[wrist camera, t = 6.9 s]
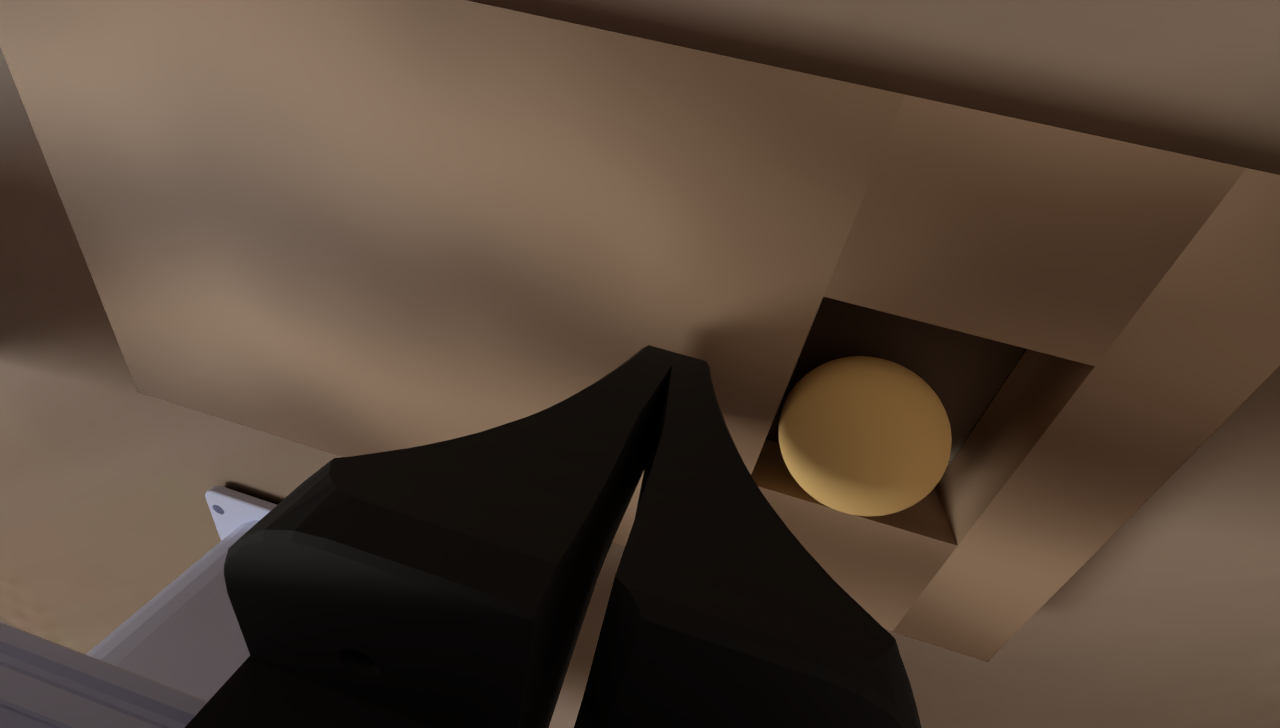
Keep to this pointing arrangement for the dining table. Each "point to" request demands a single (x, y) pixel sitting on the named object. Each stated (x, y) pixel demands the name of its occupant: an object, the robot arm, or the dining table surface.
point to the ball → (865, 436)
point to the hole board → (644, 257)
